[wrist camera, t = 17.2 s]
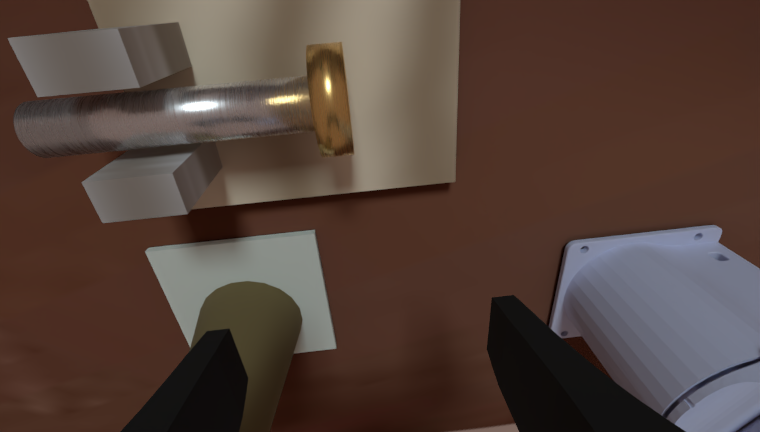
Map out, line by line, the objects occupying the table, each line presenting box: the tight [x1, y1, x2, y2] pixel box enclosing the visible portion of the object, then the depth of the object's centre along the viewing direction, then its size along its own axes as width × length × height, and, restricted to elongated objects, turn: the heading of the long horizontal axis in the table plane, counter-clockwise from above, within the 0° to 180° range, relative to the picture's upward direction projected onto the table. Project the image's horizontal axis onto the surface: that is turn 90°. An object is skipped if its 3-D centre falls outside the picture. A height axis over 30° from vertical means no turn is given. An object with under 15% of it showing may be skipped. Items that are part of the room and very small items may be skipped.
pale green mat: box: [145, 230, 336, 354], centre depth 23 cm, size 9×9×1 cm
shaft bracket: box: [8, 0, 460, 223], centre depth 15 cm, size 14×10×6 cm
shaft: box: [14, 42, 354, 158], centre depth 14 cm, size 11×4×4 cm, turn 94°
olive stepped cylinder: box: [189, 281, 303, 432], centre depth 18 cm, size 6×6×11 cm
